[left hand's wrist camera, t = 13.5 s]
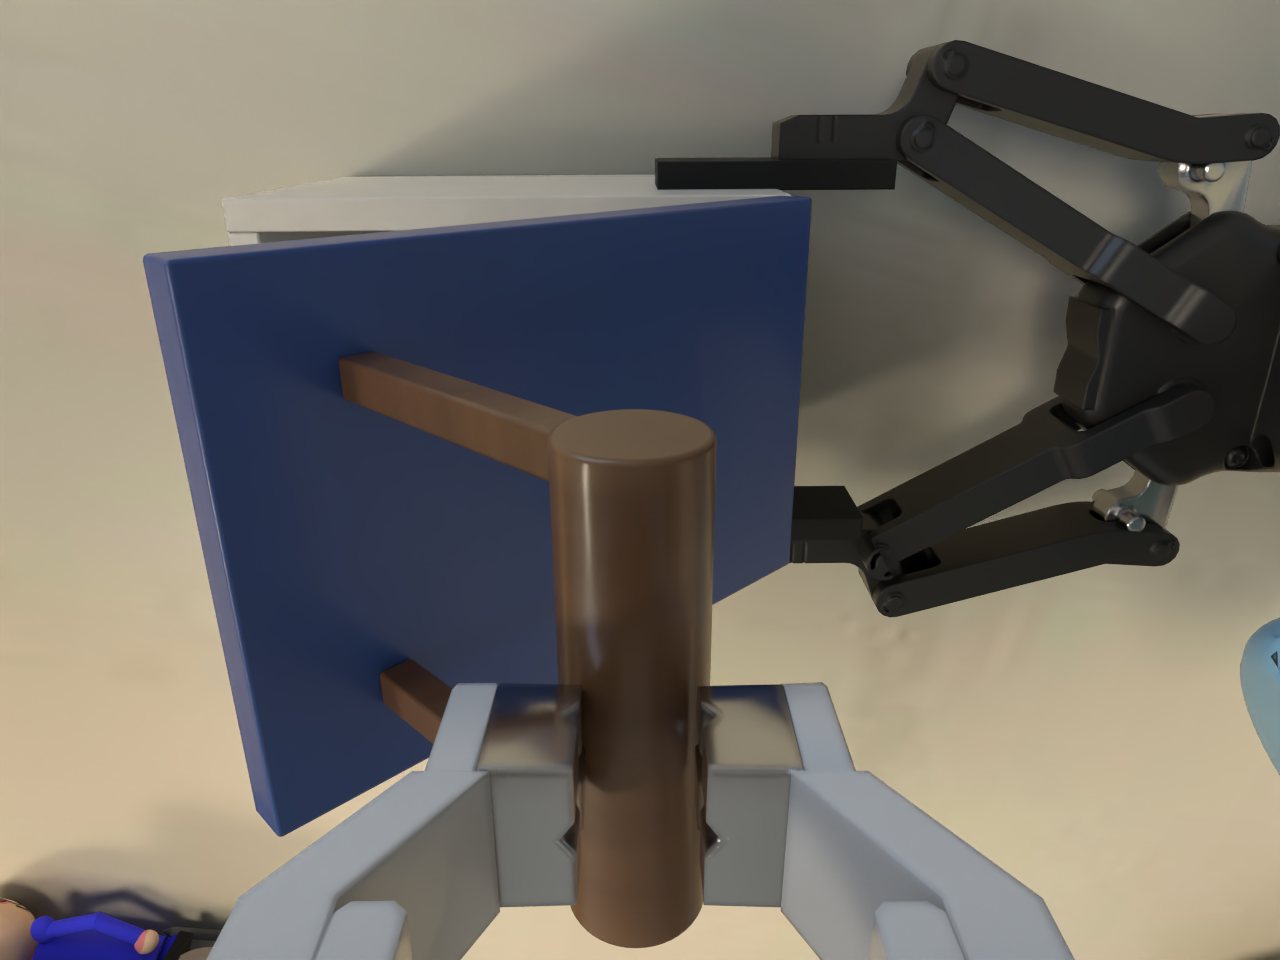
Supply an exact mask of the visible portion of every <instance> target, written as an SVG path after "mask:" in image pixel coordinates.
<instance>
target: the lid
mask: <svg viewBox="0 0 1280 960" xmlns="http://www.w3.org/2000/svg"><path fill="white" fill-rule="evenodd" d="M811 204H812V200H811V198H809V197H796V196H771V197H760V198H749V199H738V200H727V201H716V202H706V203H695V204H684V205H673V206H662V207H651V208H640V209H629V210H618V211H608V212H597V213H586V214H575V215H564V216H553V217H542V218H531V219H520V220H510V221H499V222H488V223H477V224H466V225H455V226H444V227H433V228H422V229H411V230H401V231H390V232H379V233H368V234H357V235H346V236H335V237H324V238H313V239H303V240H292V241H281V242H270V243H259V244H248V245H237V246H226V247H215V248H205V249H194V250H183V251H172V252H161V253H150V254H147V255H145V256H144V258H143V263H144V268H145V273H146V278H147V283H148V287H149V292H150V297H151V302H152V307H153V312H154V317H155V321H156V326H157V331H158V336H159V341H160V346H161V350H162V355H163V360H164V365H165V370H166V375H167V380H168V384H169V389H170V394H171V399H172V404H173V409H174V413H175V418H176V423H177V428H178V433H179V438H180V443H181V447H182V452H183V457H184V462H185V467H186V472H187V476H188V481H189V486H190V491H191V496H192V501H193V506H194V510H195V515H196V520H197V525H198V530H199V535H200V540H201V544H202V549H203V554H204V559H205V564H206V569H207V573H208V578H209V583H210V588H211V593H212V598H213V603H214V607H215V612H216V617H217V622H218V627H219V632H220V636H221V641H222V646H223V651H224V656H225V661H226V666H227V670H228V675H229V680H230V685H231V690H232V695H233V699H234V704H235V709H236V714H237V719H238V724H239V729H240V733H241V738H242V743H243V748H244V753H245V758H246V762H247V767H248V772H249V777H250V782H251V787H252V792H253V796H254V801H255V806H256V811H257V812H258V813H259V814H260V815H261V816H262V818H263V819H264V820H265V821H266V822H267V824H268V825H269V826H270V827H271V828H272V830H273V831H274V832H275V833H276V834H277V835H278V836H279V837H281V836H284V835H286V834H288V833H290V832H292V831H294V830H295V829H297V828H299V827H301V826H303V825H305V824H307V823H308V822H310V821H312V820H314V819H316V818H318V817H319V816H321V815H323V814H325V813H327V812H329V811H331V810H332V809H334V808H336V807H338V806H340V805H342V804H344V803H345V802H347V801H349V800H351V799H353V798H355V797H357V796H358V795H360V794H362V793H364V792H366V791H368V790H370V789H371V788H373V787H375V786H377V785H379V784H381V783H383V782H384V781H386V780H388V779H390V778H392V777H394V776H396V775H397V774H399V773H401V772H403V771H405V770H407V769H409V768H410V767H412V766H414V765H416V764H418V763H420V762H422V761H423V760H425V759H427V758H429V757H430V754H431V751H432V748H433V745H434V742H435V739H436V736H437V733H438V730H439V727H440V724H441V721H442V718H443V715H444V712H445V709H446V706H447V703H448V700H449V697H450V694H451V691H452V689H453V688H454V687H455V686H456V685H457V684H458V683H497V684H499V685H500V684H501V683H517V684H565V685H583V700H584V728H583V741H582V745H583V747H584V748H585V765H586V790H585V813H584V828H583V829H582V830H581V831H580V832H581V865H580V876H579V887H578V899H577V905H570V906H571V909H572V911H573V913H574V915H575V917H576V918H577V920H578V921H579V922H580V924H581V925H582V926H583V927H584V928H585V929H586V930H587V931H588V932H589V933H591V934H592V935H593V936H595V937H596V938H598V939H600V940H602V941H604V942H607V943H609V944H612V945H616V946H620V947H626V948H645V947H651V946H656V945H659V944H663V943H665V942H668V941H670V940H672V939H674V938H675V937H677V936H679V935H680V934H681V933H683V932H684V931H685V930H686V929H687V928H688V927H689V926H690V925H691V924H692V923H693V922H694V920H695V919H696V917H697V916H698V914H699V912H700V910H701V907H702V905H703V891H702V880H701V869H700V859H699V856H700V831H699V830H698V829H697V820H696V805H695V746H696V745H697V744H698V734H697V722H696V701H697V687H698V686H710V666H711V628H712V605H713V604H715V603H717V602H719V601H720V600H722V599H724V598H726V597H728V596H730V595H732V594H733V593H735V592H737V591H739V590H741V589H743V588H745V587H746V586H748V585H750V584H752V583H754V582H756V581H757V580H759V579H761V578H763V577H765V576H767V575H769V574H770V573H772V572H774V571H776V570H778V569H780V568H782V567H783V566H785V565H787V564H788V563H789V561H790V545H791V529H792V513H793V496H794V480H795V464H796V448H797V432H798V415H799V399H800V383H801V367H802V350H803V334H804V318H805V302H806V285H807V269H808V253H809V237H810V220H811Z"/></svg>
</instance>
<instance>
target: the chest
mask: <svg viewBox="0 0 1280 960" xmlns="http://www.w3.org/2000/svg"><path fill="white" fill-rule="evenodd" d="M771 196H792V195H790V194H788V193H786V192H783V191H781V190H779V189H698V190H658V189H657V187H656V185H655V174H637V175H499V176H361V177H342V178H335V179H330V180H324V181H319V182H313V183H308V184H302V185H297V186H291V187H285V188H280V189H274V190H269V191H263V192H258V193H252V194H247V195H241V196H236V197H230V198H225V199H222V205H223V211H224V217H225V223H226V229H227V231H228V232H230V233H229V234H228V237H229V243H230V246H237V245H248V244H259V243H270V242H281V241H292V240H303V239H313V238H324V237H335V236H346V235H357V234H368V233H379V232H390V231H401V230H411V229H422V228H433V227H444V226H455V225H466V224H477V223H488V222H499V221H510V220H520V219H531V218H542V217H553V216H564V215H575V214H586V213H597V212H608V211H618V210H629V209H640V208H651V207H662V206H673V205H684V204H695V203H706V202H716V201H727V200H738V199H749V198H760V197H771Z"/></svg>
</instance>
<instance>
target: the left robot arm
mask: <svg viewBox="0 0 1280 960" xmlns="http://www.w3.org/2000/svg"><path fill="white" fill-rule="evenodd" d="M696 722H697V734H698V744H697V745H696V746H695V805H696V820H697V829H698V830H699V831H700V856H699V859H700V869H701V880H702V891H703V902H704V905H720V906H756V907H781V912H782V913H783V914H784V915H785V917H786V918H787V919H788V920H789V922H790V923H791V924H792V925H793V927H794V928H795V929H796V930H797V931H798V933H799V934H800V935H801V936H802V938H803V939H804V940H805V941H806V942H807V944H808V945H809V946H810V947H811V949H812V950H813V951H814V952H815V953H816V955H817V956H818V957H819V958H820V960H1075V959H1074V957H1073V955H1072V954H1071V952H1070V950H1069V948H1068V946H1067V944H1066V942H1065V940H1064V938H1063V936H1062V934H1061V932H1060V930H1059V929H1058V927H1057V925H1056V923H1055V921H1054V919H1053V917H1052V915H1051V913H1050V911H1049V909H1048V907H1047V905H1046V904H1045V902H1044V900H1043V898H1041V897H1040V896H1039V895H1037V894H1036V893H1035V892H1033V891H1032V890H1030V889H1029V888H1028V887H1026V886H1025V885H1024V884H1022V883H1021V882H1020V881H1018V880H1017V879H1015V878H1014V877H1013V876H1011V875H1010V874H1009V873H1007V872H1006V871H1004V870H1003V869H1002V868H1000V867H999V866H998V865H996V864H995V863H993V862H992V861H991V860H989V859H988V858H987V857H985V856H984V855H983V854H981V853H980V852H978V851H977V850H976V849H974V848H973V847H972V846H970V845H969V844H967V843H966V842H965V841H963V840H962V839H961V838H959V837H958V836H957V835H955V834H954V833H952V832H951V831H950V830H948V829H947V828H946V827H944V826H943V825H941V824H940V823H939V822H937V821H936V820H935V819H933V818H932V817H930V816H929V815H928V814H926V813H925V812H924V811H922V810H921V809H920V808H918V807H917V806H915V805H914V804H913V803H911V802H910V801H909V800H907V799H906V798H904V797H903V796H902V795H900V794H899V793H898V792H896V791H895V790H894V789H892V788H891V787H889V786H888V785H887V784H885V783H884V782H883V781H881V780H880V779H878V778H877V777H876V776H874V775H873V774H872V773H870V772H869V771H856V770H855V767H854V764H853V761H852V758H851V755H850V752H849V749H848V746H847V743H846V740H845V738H844V735H843V732H842V729H841V726H840V723H839V720H838V717H837V714H836V711H835V708H834V705H833V702H832V699H831V697H830V694H829V691H828V688H827V686H826V685H825V684H823V683H822V682H819V683H790V684H781V685H727V686H698V687H697V701H696ZM583 728H584V700H583V685H565V684H517V683H501V684H500V685H499V684H497V683H458V684H457V685H456V686H455V687H454V688H453V689H452V691H451V694H450V697H449V700H448V703H447V706H446V709H445V712H444V715H443V718H442V721H441V724H440V727H439V730H438V733H437V736H436V739H435V742H434V745H433V748H432V751H431V754H430V757H429V760H428V763H427V766H426V769H425V771H412V772H410V773H409V774H408V775H406V776H405V777H404V778H402V779H401V780H399V781H398V782H397V783H395V784H394V785H393V786H391V787H390V788H388V789H387V790H386V791H384V792H383V793H382V794H380V795H379V796H377V797H376V798H375V799H373V800H372V801H371V802H369V803H368V804H366V805H365V806H364V807H362V808H361V809H360V810H358V811H357V812H355V813H354V814H353V815H351V816H350V817H349V818H347V819H346V820H344V821H343V822H342V823H340V824H339V825H338V826H336V827H335V828H333V829H332V830H331V831H329V832H328V833H327V834H325V835H324V836H322V837H321V838H320V839H318V840H317V841H316V842H314V843H313V844H311V845H310V846H309V847H307V848H306V849H305V850H303V851H302V852H300V853H299V854H298V855H296V856H295V857H294V858H292V859H291V860H289V861H288V862H287V863H285V864H284V865H283V866H281V867H280V868H278V869H277V870H276V871H274V872H273V873H272V874H270V875H269V876H267V877H266V878H265V879H263V880H262V881H261V882H259V883H258V884H256V885H255V886H254V887H252V888H251V889H250V890H248V891H247V892H245V893H244V894H243V895H241V896H240V897H239V898H238V900H237V902H236V904H235V906H234V908H233V910H232V912H231V914H230V915H229V917H228V919H227V921H226V923H225V925H224V927H223V929H222V931H221V933H220V934H219V936H218V938H217V940H216V942H215V944H214V946H213V948H212V950H211V952H210V953H209V955H208V957H207V959H206V960H461V959H462V957H463V956H464V955H465V954H466V952H467V951H468V950H469V949H470V948H471V946H472V945H473V944H474V943H475V941H476V940H477V939H478V938H479V937H480V935H481V934H482V933H483V932H484V930H485V929H486V928H487V927H488V926H489V924H490V923H491V922H492V921H493V919H494V918H495V917H496V916H497V915H498V913H499V912H500V908H499V907H524V906H558V905H577V899H578V887H579V876H580V865H581V832H580V831H581V830H582V829H583V828H584V813H585V790H586V765H585V748H584V747H583V745H582V741H583Z"/></svg>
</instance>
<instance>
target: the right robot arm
mask: <svg viewBox="0 0 1280 960" xmlns="http://www.w3.org/2000/svg"><path fill="white" fill-rule="evenodd" d="M906 75H907V78H906V80H905V82H904V85H903V87H902V89H901V92H900V94H899V96H898V98H897V100H896V101H895V103H894V104H893V105H892V106H891V107H890V108H889V109H887V110H886V111H885V112H882V113H880V114H876V115H791V116H788V117H786V118H784V119H781V120H779V121H777V122H774V123H773V130H772V152H771V158H655V185H656V187H657V189H658V190H698V189H779V190H880V189H895V178H896V168H897V163H898V164H899V165H901V166H902V167H904V168H905V169H907V170H908V171H910V172H912V173H913V174H915V175H916V176H918V177H919V178H921V179H923V180H924V181H926V182H927V183H929V184H930V185H932V186H934V187H935V188H937V189H938V190H940V191H941V192H943V193H944V194H946V195H948V196H949V197H951V198H952V199H954V200H955V201H957V202H959V203H960V204H962V205H963V206H965V207H966V208H968V209H970V210H971V211H973V212H974V213H976V214H977V215H979V216H980V217H982V218H984V219H985V220H987V221H988V222H990V223H991V224H993V225H995V226H996V227H998V228H999V229H1001V230H1002V231H1004V232H1006V233H1007V234H1009V235H1010V236H1012V237H1013V238H1015V239H1016V240H1018V241H1020V242H1021V243H1023V244H1024V245H1026V246H1027V247H1029V248H1031V249H1032V250H1034V251H1035V252H1037V253H1038V254H1040V255H1042V256H1043V257H1045V258H1046V259H1047V260H1048V261H1049V262H1050V263H1051V264H1052V265H1054V266H1055V267H1057V268H1059V269H1060V270H1062V271H1063V272H1065V273H1066V274H1068V275H1069V276H1071V277H1073V278H1074V279H1076V280H1077V281H1079V282H1080V283H1082V284H1084V286H1083V287H1082V289H1081V290H1080V292H1079V294H1078V296H1077V297H1070V298H1069V304H1068V310H1067V316H1066V329H1067V339H1068V346H1067V349H1066V351H1065V353H1064V355H1063V358H1062V360H1061V362H1060V364H1059V367H1058V369H1057V374H1056V380H1055V386H1054V392H1055V393H1056V394H1058V395H1059V396H1058V397H1056V398H1054V399H1052V400H1050V401H1048V402H1046V403H1045V404H1043V405H1041V406H1039V407H1037V408H1035V409H1033V410H1031V411H1030V412H1028V413H1027V414H1026V415H1025V416H1024V418H1023V421H1022V422H1021V423H1020V424H1018V425H1017V426H1015V427H1013V428H1011V429H1009V430H1007V431H1005V432H1003V433H1001V434H999V435H997V436H995V437H993V438H991V439H989V440H987V441H985V442H983V443H981V444H979V445H977V446H975V447H974V448H972V449H970V450H968V451H966V452H964V453H962V454H960V455H958V456H956V457H954V458H952V459H950V460H948V461H946V462H944V463H942V464H940V465H938V466H936V467H934V468H932V469H931V470H929V471H927V472H925V473H923V474H921V475H919V476H917V477H915V478H913V479H911V480H909V481H907V482H905V483H903V484H901V485H899V486H897V487H895V488H893V489H891V490H889V491H887V492H886V493H884V494H882V495H880V496H878V497H876V498H874V499H872V500H870V501H868V502H866V503H864V504H862V505H860V506H858V507H856V505H855V503H854V502H853V500H852V498H851V497H850V495H849V493H848V491H847V490H846V488H845V486H794V496H793V513H792V529H791V545H790V561H789V563H803V562H804V563H851V564H854V565H856V566H857V567H859V574H860V576H861V578H862V580H863V582H864V584H865V586H866V588H867V590H868V592H869V594H870V595H871V597H872V599H873V601H874V603H875V605H876V607H877V609H878V611H879V612H880V613H881V614H883V615H884V616H888V617H898V616H901V615H905V614H909V613H913V612H917V611H921V610H925V609H929V608H933V607H937V606H941V605H945V604H949V603H953V602H956V601H960V600H964V599H968V598H972V597H976V596H980V595H984V594H988V593H992V592H996V591H1000V590H1004V589H1008V588H1011V587H1015V586H1019V585H1023V584H1027V583H1031V582H1035V581H1039V580H1043V579H1047V578H1051V577H1055V576H1059V575H1063V574H1066V573H1070V572H1074V571H1078V570H1082V569H1086V568H1090V567H1094V566H1098V565H1102V564H1122V565H1141V566H1162V565H1165V564H1167V563H1169V562H1171V561H1172V560H1173V559H1174V558H1175V557H1176V555H1177V553H1178V551H1179V545H1180V544H1179V542H1178V539H1177V538H1176V537H1175V536H1174V535H1172V534H1171V533H1170V532H1169V531H1167V530H1166V524H1167V521H1168V518H1169V515H1170V511H1171V508H1172V505H1173V502H1174V498H1175V495H1176V492H1177V489H1178V485H1182V484H1186V483H1189V482H1191V481H1193V480H1195V479H1197V478H1199V477H1202V476H1204V475H1207V474H1210V473H1213V472H1217V471H1225V470H1229V471H1246V472H1280V225H1271V226H1267V225H1264V224H1262V223H1260V222H1258V221H1257V220H1255V219H1254V218H1253V217H1251V216H1249V215H1248V214H1245V213H1243V212H1244V206H1245V200H1246V194H1247V188H1248V182H1249V176H1250V170H1251V164H1252V160H1257V159H1260V158H1263V157H1264V156H1266V155H1267V154H1269V153H1270V152H1271V151H1272V150H1273V148H1274V147H1275V146H1276V145H1277V142H1278V139H1279V136H1280V126H1279V124H1278V122H1277V119H1276V118H1274V117H1273V116H1272V115H1270V114H1264V113H1245V114H1204V115H1188V114H1185V113H1182V112H1179V111H1176V110H1173V109H1170V108H1167V107H1164V106H1161V105H1158V104H1155V103H1152V102H1148V101H1145V100H1142V99H1139V98H1136V97H1133V96H1130V95H1127V94H1124V93H1121V92H1118V91H1115V90H1112V89H1109V88H1106V87H1103V86H1100V85H1097V84H1094V83H1091V82H1088V81H1084V80H1081V79H1078V78H1075V77H1072V76H1069V75H1066V74H1063V73H1060V72H1057V71H1054V70H1051V69H1048V68H1045V67H1042V66H1039V65H1036V64H1033V63H1030V62H1027V61H1024V60H1020V59H1017V58H1014V57H1011V56H1008V55H1005V54H1002V53H999V52H996V51H993V50H990V49H987V48H984V47H981V46H978V45H975V44H972V43H969V42H966V41H958V40H954V41H951V42H947V43H943V44H939V45H935V46H931V47H927V48H924V49H922V50H919V51H918V52H917V53H915V54H914V55H913V56H912V57H911V59H910V61H909V63H908V65H907V71H906ZM955 104H957V105H960V106H963V107H966V108H970V109H973V110H976V111H979V112H982V113H985V114H988V115H992V116H995V117H998V118H1001V119H1004V120H1007V121H1010V122H1013V123H1017V124H1020V125H1023V126H1026V127H1029V128H1032V129H1035V130H1039V131H1042V132H1045V133H1048V134H1051V135H1054V136H1057V137H1060V138H1064V139H1067V140H1070V141H1073V142H1076V143H1079V144H1082V145H1085V146H1089V147H1092V148H1095V149H1098V150H1101V151H1104V152H1107V153H1111V154H1114V155H1117V156H1121V157H1125V158H1129V159H1135V160H1144V161H1157V162H1160V163H1159V166H1158V173H1159V174H1160V176H1161V179H1162V182H1163V183H1164V184H1165V186H1167V187H1169V188H1170V189H1174V190H1179V191H1182V192H1184V193H1185V194H1186V195H1187V196H1188V197H1189V199H1190V202H1191V212H1188V213H1186V214H1184V215H1183V216H1181V217H1180V218H1178V219H1177V220H1175V221H1174V222H1172V223H1171V224H1169V225H1168V226H1166V227H1164V228H1163V229H1161V230H1160V231H1158V232H1157V233H1155V234H1154V235H1152V236H1151V237H1149V238H1148V239H1146V240H1145V241H1143V242H1142V243H1140V244H1139V245H1137V246H1136V245H1134V244H1133V243H1131V242H1129V241H1127V240H1125V239H1123V238H1121V237H1119V236H1116V235H1114V234H1112V233H1111V232H1109V231H1107V230H1106V229H1104V228H1103V227H1101V226H1100V225H1098V224H1097V223H1095V222H1094V221H1092V220H1091V219H1089V218H1087V217H1086V216H1084V215H1083V214H1081V213H1080V212H1078V211H1077V210H1075V209H1074V208H1072V207H1071V206H1069V205H1068V204H1066V203H1065V202H1063V201H1062V200H1060V199H1059V198H1057V197H1056V196H1054V195H1052V194H1051V193H1049V192H1048V191H1046V190H1045V189H1043V188H1042V187H1040V186H1039V185H1037V184H1036V183H1034V182H1033V181H1031V180H1030V179H1028V178H1027V177H1025V176H1024V175H1022V174H1021V173H1019V172H1017V171H1016V170H1014V169H1013V168H1011V167H1010V166H1008V165H1007V164H1005V163H1004V162H1002V161H1001V160H999V159H998V158H996V157H995V156H993V155H992V154H990V153H989V152H987V151H986V150H984V149H982V148H981V147H979V146H978V145H976V144H975V143H973V142H972V141H970V140H969V139H967V138H966V137H964V136H963V135H961V134H960V133H958V132H957V131H955V130H954V129H952V128H951V127H949V126H947V125H946V124H947V122H948V120H949V118H950V115H951V113H952V111H953V109H954V107H955ZM1081 428H1082V429H1083V430H1085V431H1077V430H1079V429H1081ZM1122 460H1123V461H1124V462H1125V463H1127V464H1128V465H1129V466H1130V467H1132V468H1133V469H1135V473H1134V475H1133V477H1132V478H1131V480H1130V481H1129V482H1128V483H1126V484H1125V485H1124V486H1121V487H1119V488H1114V489H1109V490H1105V489H1100V490H1098V491H1096V492H1095V493H1094V495H1093V497H1092V500H1093V502H1072V503H1065V504H1060V505H1055V506H1051V507H1047V508H1043V509H1039V510H1036V511H1032V512H1028V513H1024V514H1020V515H1017V516H1013V517H1009V518H1005V519H1001V520H997V521H994V522H990V523H986V524H982V525H978V526H975V527H971V528H967V527H970V526H972V525H974V524H976V523H978V522H980V521H982V520H984V519H986V518H988V517H990V516H992V515H994V514H996V513H998V512H1000V511H1002V510H1004V509H1006V508H1008V507H1010V506H1012V505H1014V504H1016V503H1018V502H1020V501H1022V500H1024V499H1026V498H1028V497H1030V496H1032V495H1034V494H1036V493H1038V492H1040V491H1042V490H1044V489H1046V488H1048V487H1050V486H1052V485H1054V484H1056V483H1058V482H1060V481H1063V480H1065V479H1070V478H1072V479H1081V478H1087V477H1089V476H1092V475H1094V474H1096V473H1098V472H1100V471H1102V470H1104V469H1106V468H1108V467H1110V466H1112V465H1114V464H1116V463H1118V462H1120V461H1122ZM965 528H967V529H965ZM1240 679H1241V686H1242V691H1243V695H1244V699H1245V703H1246V706H1247V709H1248V712H1249V715H1250V717H1251V720H1252V722H1253V725H1254V727H1255V730H1256V732H1257V734H1258V736H1259V738H1260V740H1261V742H1262V745H1263V747H1264V749H1265V750H1266V752H1267V754H1268V756H1269V758H1270V760H1271V761H1272V763H1273V765H1274V767H1275V768H1276V770H1277V772H1278V773H1279V775H1280V618H1278V619H1275V620H1273V621H1271V622H1269V623H1267V624H1265V625H1263V626H1262V627H1261V628H1260V629H1258V630H1257V631H1256V632H1255V633H1254V634H1253V635H1252V636H1251V637H1250V639H1249V640H1248V642H1247V643H1246V646H1245V649H1244V653H1243V656H1242V660H1241V664H1240Z"/></svg>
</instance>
